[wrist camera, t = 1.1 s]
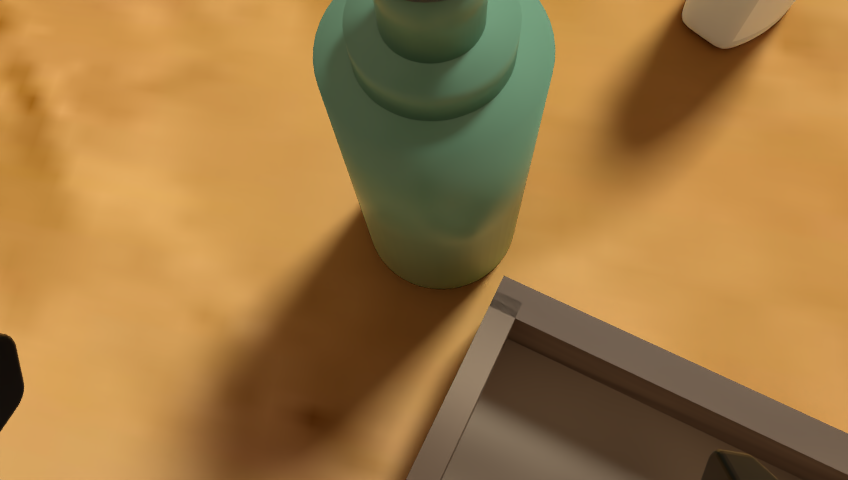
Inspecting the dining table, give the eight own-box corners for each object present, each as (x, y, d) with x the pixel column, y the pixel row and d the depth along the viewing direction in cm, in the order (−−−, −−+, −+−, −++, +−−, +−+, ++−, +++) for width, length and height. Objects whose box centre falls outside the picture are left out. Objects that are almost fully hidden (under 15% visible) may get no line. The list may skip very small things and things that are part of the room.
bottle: (439, 319, 22) (419, 113, 10) (339, 217, 24) (207, -81, 11) (545, 220, 23) (653, -85, 11) (443, 128, 25) (432, -238, 12)
